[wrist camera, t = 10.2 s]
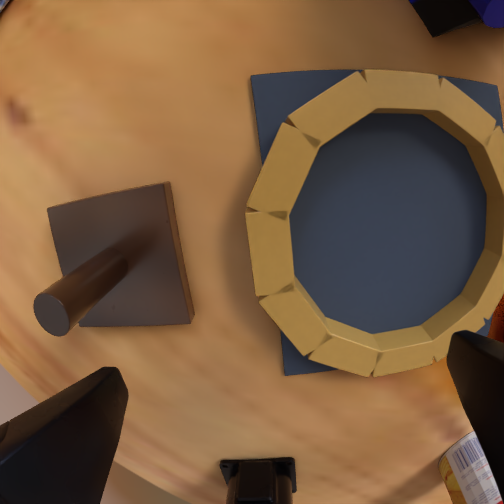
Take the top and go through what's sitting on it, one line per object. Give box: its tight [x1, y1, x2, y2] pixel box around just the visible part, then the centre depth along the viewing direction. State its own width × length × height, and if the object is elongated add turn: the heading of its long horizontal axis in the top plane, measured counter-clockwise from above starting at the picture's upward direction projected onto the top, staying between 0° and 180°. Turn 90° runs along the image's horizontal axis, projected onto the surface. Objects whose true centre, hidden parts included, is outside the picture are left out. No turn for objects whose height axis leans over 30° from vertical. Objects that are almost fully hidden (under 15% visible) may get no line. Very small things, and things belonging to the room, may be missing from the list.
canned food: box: [438, 431, 503, 504], centre depth 17 cm, size 8×8×12 cm
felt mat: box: [251, 70, 504, 376], centre depth 16 cm, size 18×16×1 cm
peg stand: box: [34, 182, 195, 336], centre depth 14 cm, size 8×8×8 cm
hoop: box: [245, 69, 504, 377], centre depth 15 cm, size 17×17×2 cm
